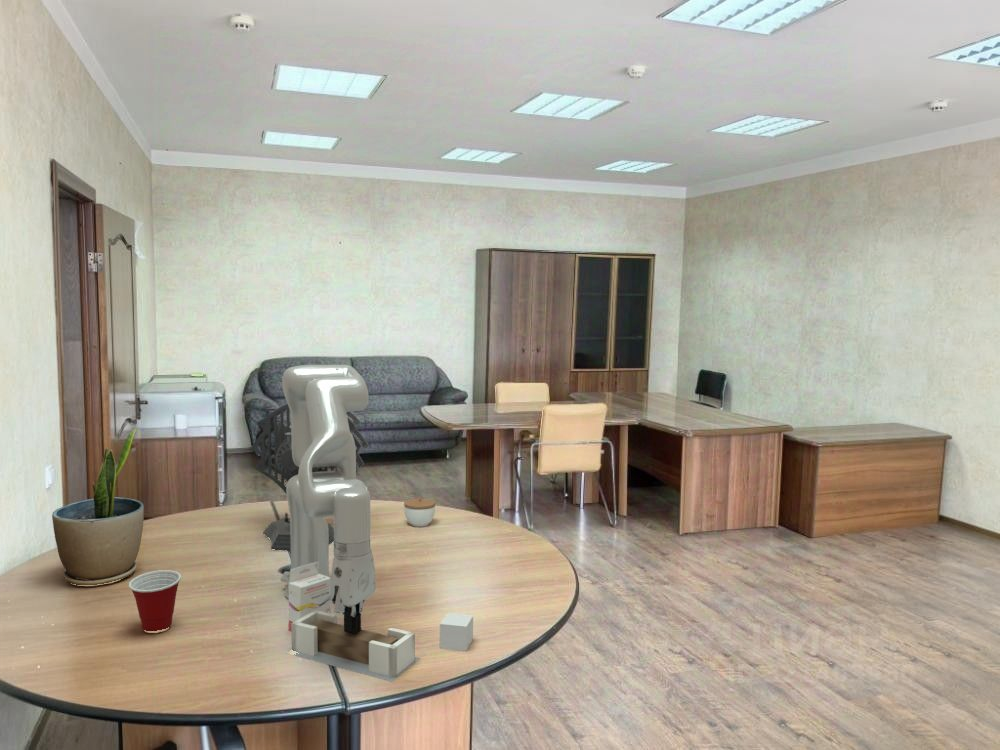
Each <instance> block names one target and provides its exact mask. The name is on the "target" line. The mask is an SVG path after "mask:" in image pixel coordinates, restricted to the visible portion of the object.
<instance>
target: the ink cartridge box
mask: <svg viewBox="0 0 1000 750" xmlns="http://www.w3.org/2000/svg"><path fill="white" fill-rule="evenodd" d="M304 569H310V570H309V571H308V572H304V573H301V574H300V571H303V570H304ZM289 572H290V578H289V599H288V632H291V623H293V622H295V621H297V620H299V619H300V618H302V617H304V616H306V615H307V614H309V613H311V612H313V611H315V610H318V611H322V612H326V613H331V611H332V610H331V609H332V606H331V605H332V604H331V603H332V601H331V576H329V577H327V576H325V575H322V574H319V562H314V563H311V564H307V565H304V566H300V567H297V568H294V569H291V568H290V570H289ZM331 614H332V613H331Z"/></svg>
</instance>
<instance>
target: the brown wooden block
mask: <svg viewBox="0 0 1000 750" xmlns="http://www.w3.org/2000/svg"><path fill="white" fill-rule="evenodd" d="M312 626H316V627H317V643H318V652H322V653H325V654H329V655H333V656H337V657H341V658H345V659H348V660H352V661H356V662H360V663H364V664H368V665H369V642H370V641H372V640H374V641H378V642H382V643H386V644H390V645H393V644H394V643H396V642H397V641H398V638H395V637H390V636H388V635H386V634H382V633H377V632H372V631H368V630H365V629H361V631H360V632H358V633H357V634H352V633H347V632H345V631H344V624H339V623H337V624H336V623H332V622H327V621H323V620H320V621H318V622H316V623H315V624H313V625H312Z"/></svg>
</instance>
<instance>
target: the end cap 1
mask: <svg viewBox="0 0 1000 750" xmlns="http://www.w3.org/2000/svg"><path fill="white" fill-rule="evenodd" d="M320 620H323V621H327V622H332V623H336V624H338V614H334V613H326V612H322V611H318V610H315V611H313V612H311V613H309V614H307V615H306V616H304V617H302V618H300V619H299V620H297V621H295V622H293V623H291V631H290V632H291V639H290V641H291V649H292V650H293V651H296V652H299V653H303V654H307V655H311V656H315V655H317V654H318V643H317V627H316V626H312V625H313V624H315V623H316V622H318V621H320Z"/></svg>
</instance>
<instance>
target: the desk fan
mask: <svg viewBox="0 0 1000 750" xmlns="http://www.w3.org/2000/svg"><path fill="white" fill-rule="evenodd" d="M285 411H286V421H284V412H285ZM346 414H347V419H348V424H349V429H350V433H351V434H352V436H353V438H354V442H355V447H356V474H357V473H359V472H360V469H362V468H363V467H364V466H365V463H364V460H363V458H362V457H361V456H360V454H363V452H364V451H365V449H366V448H368V447H369V443H368V442H367V440H366V439H365V437H364V436H363V434H362V433H361V432H360V431H359V430H358V428H357V427H358V426H359V424H360V422H361V420H360V419H358V417H356V415H355V414H354V413H353V412H346ZM279 415H280V419H279V420H280V422H279V423H278V416H279ZM259 426H260V427H261V428H262V433H260V434H259V436H258V437H257V438H256V439H255V441H254V442H253V444H252V446H251V447H250V449H251V451H253V452H254V453H257V454H258V455H259V456H260V459H259V461H258V463H257V464H256V466H255V470H256V471H258V472H259V473H261V474H262V475H264V476H266V477H267V478H268V479H270V480H272V481H273V482H274V484H276V485H277V486H278V487H279V488H281V489H282V491H283V492H284V494H286V495H287V493H286V486H287V483H288V481H289V479H290V478H292V477H293V476H295V475H297V474H298V472H299V467H298V466H296V465H295V463H294V462H293V458H292V440H291V416H290V409H289V406H288V403H286V404H285V405H282V406H281V407H278V408H277V409H274V410H273V411H271V412H270V413H269V414H268V415H267V416H265V417H264V419H262V420H261V421H260V422H259ZM272 434H273V436H274V437H273V439H274V440H273V441H274V444H273V445H274V448H273V446H272ZM273 456H274V463H272V459H273ZM329 467H330V471H334V470H337V468H336V469H334V468H335V466H327V467H324V469H323V467H314V468H312V472H320V471H322V472H323V471H329ZM272 473H273V474H272ZM327 524H328V529H329V545H331V544H333V543H334V542H333V541H334V525H332V524H331V523H329V522H327ZM263 534H265V535H266V536H267V537H269V538H270V540H271V541H270V540H269V541H270V543H271V542H272V544H271V545H270V546H271V547H270V550H271V549H275V550H287V551H286V552H291V534H290V517H289V513H288V512H286V513H284V517H281V518H279V519H277V520H275V521H272V522H270V524H269V525H268V526H267V527H266V528H265V530H263V531H262V535H263ZM266 536H265V537H266ZM267 537H266V538H267ZM332 542H333V543H332Z"/></svg>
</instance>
